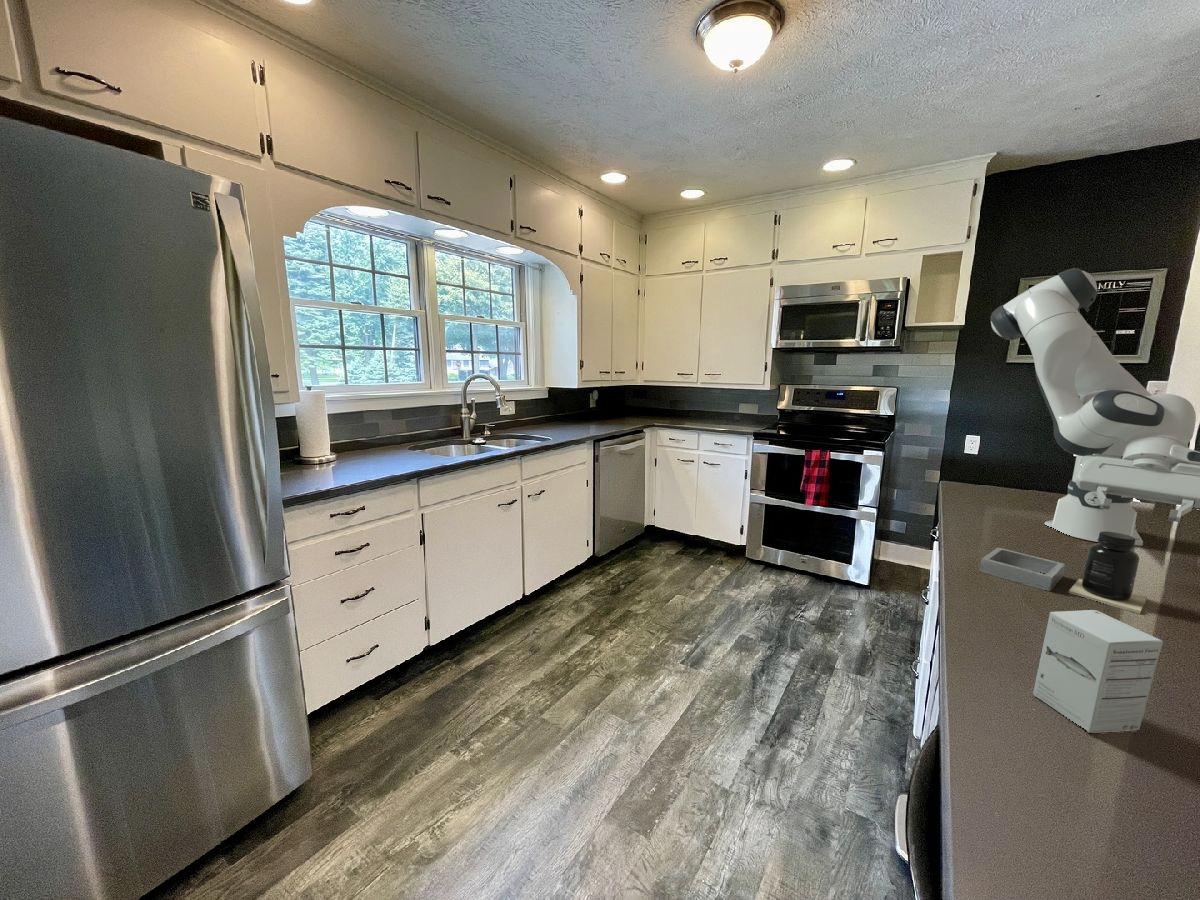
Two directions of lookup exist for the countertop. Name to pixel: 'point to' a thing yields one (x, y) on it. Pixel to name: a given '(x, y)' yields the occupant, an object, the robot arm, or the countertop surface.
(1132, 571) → the supplement bottle
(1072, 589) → the birch pad
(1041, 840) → the countertop surface
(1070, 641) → the supplement box
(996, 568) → the steel holder
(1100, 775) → the countertop surface
